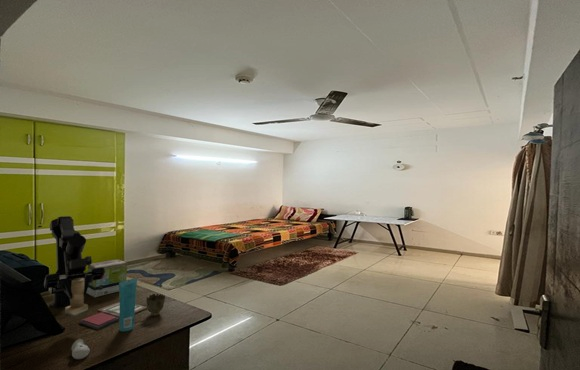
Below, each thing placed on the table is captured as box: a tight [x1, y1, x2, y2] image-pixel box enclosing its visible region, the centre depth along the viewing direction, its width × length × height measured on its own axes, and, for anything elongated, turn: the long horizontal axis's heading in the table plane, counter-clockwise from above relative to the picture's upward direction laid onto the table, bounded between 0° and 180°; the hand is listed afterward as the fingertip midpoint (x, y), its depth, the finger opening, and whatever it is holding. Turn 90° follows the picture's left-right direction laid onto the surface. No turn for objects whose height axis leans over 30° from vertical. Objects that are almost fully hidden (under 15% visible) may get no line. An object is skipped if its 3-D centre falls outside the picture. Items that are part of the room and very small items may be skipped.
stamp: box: [64, 278, 89, 318], centre depth 113 cm, size 5×5×12 cm
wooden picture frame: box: [97, 301, 148, 319], centre depth 133 cm, size 16×12×1 cm
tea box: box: [86, 258, 128, 298], centre depth 153 cm, size 15×10×15 cm
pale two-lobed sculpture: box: [71, 338, 91, 360], centre depth 99 cm, size 4×8×5 cm
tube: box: [118, 276, 138, 332], centre depth 117 cm, size 7×5×19 cm, turn 158°
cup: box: [146, 293, 166, 317], centre depth 130 cm, size 8×7×8 cm
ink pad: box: [78, 312, 120, 331], centre depth 121 cm, size 11×9×1 cm
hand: (78, 297), depth 112 cm, fingers closed on stamp, 4 cm apart
